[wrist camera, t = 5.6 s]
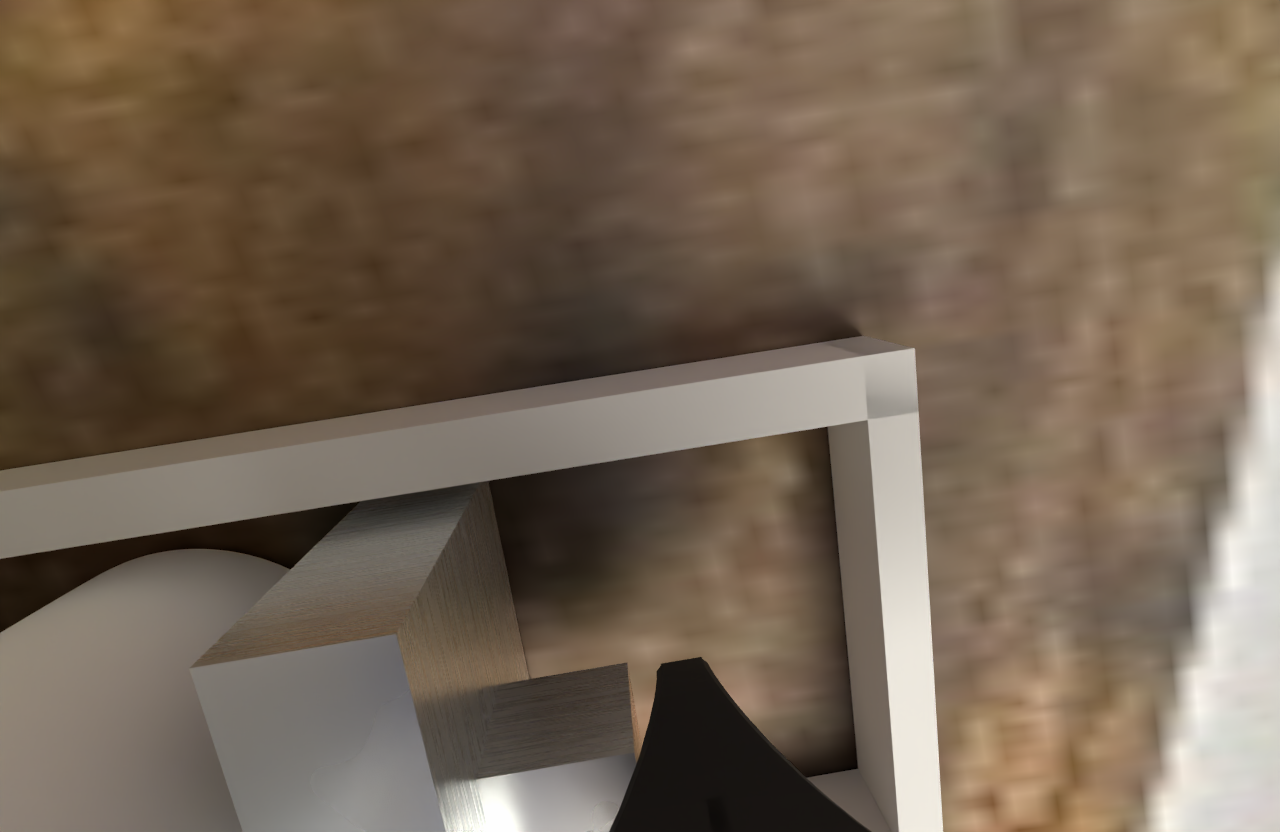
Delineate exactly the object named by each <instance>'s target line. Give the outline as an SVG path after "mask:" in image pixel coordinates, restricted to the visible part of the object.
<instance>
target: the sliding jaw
mask: <svg viewBox="0 0 1280 832" xmlns="http://www.w3.org/2000/svg"><path fill="white" fill-rule="evenodd" d="M189 670H190V673H191V676H192V679H193V682H194V685H195V688H196V691H197V694H198V697H199V700H200V703H201V707H202V710H203V713H204V716H205V719H206V722H207V725H208V728H209V731H210V734H211V737H212V740H213V743H214V746H215V749H216V752H217V755H218V758H219V761H220V764H221V767H222V770H223V773H224V776H225V780H226V783H227V786H228V789H229V792H230V795H231V798H232V801H233V804H234V807H235V810H236V813H237V816H238V819H239V822H240V825H241V828H242V831H243V832H609V831H610V829H611V826H612V824H613V822H614V820H615V817H616V815H617V813H618V811H619V808H620V806H621V803H622V801H623V798H624V796H625V793H626V790H627V788H628V785H629V782H630V780H631V777H632V774H633V772H634V769H635V767H636V764H637V761H638V758H639V755H640V752H641V748H642V747H641V741H640V735H639V729H638V723H637V717H636V711H635V705H634V699H633V693H632V688H631V682H630V676H629V670H628V664H627V663H622V664H616V665H610V666H604V667H598V668H592V669H586V670H581V671H575V672H569V673H563V674H557V675H551V676H545V677H539V678H533V679H529V675H528V670H527V666H526V661H525V656H524V651H523V646H522V641H521V636H520V632H519V627H518V622H517V617H516V612H515V607H514V602H513V598H512V593H511V588H510V583H509V578H508V573H507V568H506V564H505V559H504V554H503V549H502V544H501V539H500V535H499V530H498V525H497V520H496V515H495V510H494V505H493V501H492V496H491V491H490V486H489V481H483V482H477V483H471V484H465V485H458V486H452V487H446V488H440V489H433V490H427V491H421V492H415V493H408V494H402V495H396V496H390V497H383V498H377V499H371V500H365V501H361V502H360V503H358V504H357V505H356V506H355V507H354V508H353V509H352V510H351V511H350V512H349V513H348V514H347V515H346V516H345V517H344V518H343V519H342V520H341V521H340V522H339V523H338V524H337V525H336V526H335V527H334V528H333V529H332V530H331V531H330V532H329V533H328V534H327V535H326V536H325V537H324V538H323V539H321V540H320V541H319V542H318V543H317V544H316V545H315V546H314V547H313V548H312V549H311V550H310V551H309V552H308V553H307V554H306V555H305V556H304V557H303V558H302V559H301V560H300V561H299V562H298V563H297V564H296V565H295V566H294V567H293V568H292V569H291V570H290V571H289V572H288V573H287V574H286V575H284V576H283V577H282V578H281V579H280V580H279V581H278V582H277V583H276V584H275V585H274V586H273V587H272V588H271V589H270V590H269V591H268V592H267V593H266V594H265V595H264V596H263V597H262V598H261V599H260V600H259V601H258V602H257V603H256V604H255V605H254V606H253V607H252V608H251V609H250V610H249V611H247V612H246V613H245V614H244V615H243V616H242V617H241V618H240V619H239V620H238V621H237V622H236V623H235V624H234V625H233V626H232V627H231V628H230V629H229V630H228V631H227V632H226V633H225V634H224V635H223V636H222V637H221V638H220V639H219V640H218V641H217V642H216V643H215V644H214V645H213V646H212V647H210V648H209V649H208V650H207V651H206V652H205V653H204V654H203V655H202V656H201V657H200V658H199V659H198V660H197V661H196V662H195V663H194V664H193V665H192V666H191V667H190V668H189Z"/></svg>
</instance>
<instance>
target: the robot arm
mask: <svg viewBox="0 0 1280 832" xmlns="http://www.w3.org/2000/svg"><path fill="white" fill-rule="evenodd" d="M609 832H871V831H870V830H869V829H867V828H866V827H865V826H863V825H862V824H861V823H859V822H858V821H857V820H855V819H854V818H853V817H852V816H851V815H849V814H848V813H847V812H846V811H844V810H843V809H842V808H841V807H839V806H838V805H837V804H836V803H834V802H833V801H832V800H831V799H830V798H829V797H827V796H826V795H825V794H824V793H823V792H822V791H820V790H819V789H818V788H817V787H816V786H815V785H814V784H813V783H812V782H810V781H809V780H808V779H807V778H806V777H805V776H804V775H803V774H802V773H801V772H800V771H799V770H798V769H797V768H796V767H794V766H793V765H792V764H791V763H790V762H789V761H788V760H787V759H786V758H785V757H784V756H783V755H782V754H781V753H780V752H779V751H778V750H777V749H776V748H775V747H774V746H773V745H772V744H771V743H770V742H769V740H768V739H767V738H766V737H765V736H764V735H763V734H762V733H761V732H760V731H759V729H758V728H757V727H756V726H755V725H754V724H753V723H752V722H751V721H750V719H749V718H748V717H747V716H746V715H745V714H744V713H743V711H742V710H741V709H740V708H739V707H738V705H737V704H736V703H735V702H734V700H733V699H732V698H731V697H730V695H729V694H728V693H727V691H726V690H725V689H724V687H723V686H722V685H721V683H720V682H719V680H718V679H717V678H716V676H715V675H714V673H713V671H712V670H711V668H710V666H709V665H708V663H707V662H706V661H704V660H703V659H702V657H698V658H693V659H687V660H681V661H675V662H669V663H663V664H661V666H660V668H659V669H658V670H657V683H656V692H655V698H654V703H653V707H652V712H651V716H650V721H649V724H648V728H647V731H646V735H645V738H644V741H643V745H642V748H641V752H640V755H639V758H638V761H637V764H636V767H635V769H634V772H633V774H632V777H631V780H630V782H629V785H628V788H627V790H626V793H625V796H624V798H623V801H622V803H621V806H620V808H619V811H618V813H617V815H616V817H615V820H614V822H613V824H612V826H611V829H610V831H609Z"/></svg>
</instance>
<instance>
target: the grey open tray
mask: <svg viewBox="0 0 1280 832" xmlns="http://www.w3.org/2000/svg"><path fill="white" fill-rule="evenodd" d="M827 426H828V437H829V448H830V459H831V470H832V482H833V493H834V504H835V515H836V526H837V538H838V549H839V560H840V571H841V583H842V594H843V605H844V616H845V627H846V639H847V650H848V661H849V672H850V684H851V695H852V706H853V717H854V728H855V740H856V751H857V762H858V769H853V770H848V771H842V772H836V773H831V774H825V775H819V776H814V777H808V778H807V779H808V780H809V781H810V782H812V783H813V784H814V785H815V786H816V787H817V788H818V789H819V790H820V791H822V792H823V793H824V794H825V795H826V796H827V797H829V798H830V799H831V800H832V801H833V802H834V803H836V804H837V805H838V806H839V807H841V808H842V809H843V810H844V811H846V812H847V813H848V814H849V815H851V816H852V817H853V818H854V819H855V820H857V821H858V822H859V823H861V824H862V825H863V826H865V827H866V828H867V829H869V830H870V831H871V832H943V823H942V806H941V789H940V772H939V755H938V738H937V721H936V704H935V687H934V670H933V652H932V635H931V618H930V601H929V584H928V567H927V550H926V533H925V516H924V499H923V482H922V465H921V447H920V430H919V413H918V396H917V379H916V362H915V348H912V347H908V346H904V345H900V344H896V343H891V342H887V341H883V340H879V339H875V338H871V337H866V336H859V337H853V338H846V339H840V340H834V341H827V342H821V343H814V344H808V345H801V346H795V347H789V348H782V349H776V350H769V351H763V352H757V353H750V354H744V355H737V356H731V357H725V358H718V359H712V360H705V361H699V362H693V363H686V364H680V365H673V366H667V367H660V368H654V369H648V370H641V371H635V372H628V373H622V374H616V375H609V376H603V377H596V378H590V379H584V380H577V381H571V382H564V383H558V384H551V385H545V386H539V387H532V388H526V389H519V390H513V391H507V392H500V393H494V394H487V395H481V396H475V397H468V398H462V399H455V400H449V401H443V402H436V403H430V404H423V405H417V406H410V407H404V408H398V409H391V410H385V411H378V412H372V413H366V414H359V415H353V416H346V417H340V418H334V419H327V420H321V421H314V422H308V423H302V424H295V425H289V426H282V427H276V428H269V429H263V430H257V431H250V432H244V433H237V434H231V435H225V436H218V437H212V438H205V439H199V440H193V441H186V442H180V443H173V444H167V445H161V446H154V447H148V448H141V449H135V450H128V451H122V452H116V453H109V454H103V455H96V456H90V457H84V458H77V459H71V460H64V461H58V462H52V463H45V464H39V465H32V466H26V467H19V468H13V469H7V470H0V559H2V558H8V557H14V556H21V555H27V554H33V553H39V552H46V551H52V550H58V549H64V548H71V547H77V546H83V545H89V544H96V543H102V542H108V541H115V540H121V539H127V538H133V537H140V536H146V535H152V534H158V533H165V532H171V531H177V530H183V529H190V528H196V527H202V526H208V525H215V524H221V523H227V522H233V521H240V520H246V519H252V518H258V517H265V516H271V515H277V514H283V513H290V512H296V511H302V510H308V509H315V508H321V507H327V506H333V505H340V504H346V503H352V502H358V501H365V500H371V499H377V498H383V497H390V496H396V495H402V494H408V493H415V492H421V491H427V490H433V489H440V488H446V487H452V486H458V485H465V484H471V483H477V482H483V481H490V480H496V479H502V478H508V477H515V476H521V475H527V474H533V473H540V472H546V471H552V470H558V469H565V468H571V467H577V466H583V465H590V464H596V463H602V462H608V461H615V460H621V459H627V458H633V457H640V456H646V455H652V454H659V453H665V452H671V451H677V450H684V449H690V448H696V447H702V446H709V445H715V444H721V443H727V442H734V441H740V440H746V439H752V438H759V437H765V436H771V435H777V434H784V433H790V432H796V431H802V430H809V429H815V428H821V427H827Z"/></svg>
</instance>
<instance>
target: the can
mask: <svg viewBox="0 0 1280 832" xmlns="http://www.w3.org/2000/svg"><path fill="white" fill-rule="evenodd" d="M289 571H290V569H288V568H286V567H283V566H281V565H279V564H276V563H273V562H271V561H268V560H265V559H262V558H258V557H255V556H251V555H247V554H242V553H237V552H232V551H224V550H214V549H182V550H172V551H165V552H159V553H154V554H150V555H146V556H143V557H139V558H136V559H133V560H130V561H128V562H125V563H122V564H120V565H118V566H116V567H114V568H111V569H109V570H107V571H105V572H103V573H101V574H99V575H98V576H96V577H94V578H92V579H91V580H89V581H87V582H85V583H84V584H82V585H80V586H78V587H77V588H75V589H73V590H71V591H70V592H68V593H66V594H65V595H63V596H61V597H59V598H58V599H56V600H54V601H53V602H51V603H49V604H48V605H46V606H44V607H43V608H41V609H39V610H38V611H36V612H34V613H32V614H31V615H29V616H27V617H26V618H24V619H22V620H21V621H19V622H17V623H16V624H14V625H12V626H11V627H9V628H7V629H6V630H4V631H2V632H1V633H0V832H243V831H242V828H241V825H240V822H239V819H238V816H237V813H236V810H235V807H234V804H233V801H232V798H231V795H230V792H229V789H228V786H227V783H226V780H225V776H224V773H223V770H222V767H221V764H220V761H219V758H218V755H217V752H216V749H215V746H214V743H213V740H212V737H211V734H210V731H209V728H208V725H207V722H206V719H205V716H204V713H203V710H202V707H201V703H200V700H199V697H198V694H197V691H196V688H195V685H194V682H193V679H192V676H191V673H190V670H189V668H190V667H191V666H192V665H193V664H194V663H195V662H196V661H197V660H198V659H199V658H200V657H201V656H202V655H203V654H204V653H205V652H206V651H207V650H208V649H209V648H210V647H212V646H213V645H214V644H215V643H216V642H217V641H218V640H219V639H220V638H221V637H222V636H223V635H224V634H225V633H226V632H227V631H228V630H229V629H230V628H231V627H232V626H233V625H234V624H235V623H236V622H237V621H238V620H239V619H240V618H241V617H242V616H243V615H244V614H245V613H246V612H247V611H249V610H250V609H251V608H252V607H253V606H254V605H255V604H256V603H257V602H258V601H259V600H260V599H261V598H262V597H263V596H264V595H265V594H266V593H267V592H268V591H269V590H270V589H271V588H272V587H273V586H274V585H275V584H276V583H277V582H278V581H279V580H280V579H281V578H282V577H283V576H284V575H286V574H287V573H288V572H289Z"/></svg>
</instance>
